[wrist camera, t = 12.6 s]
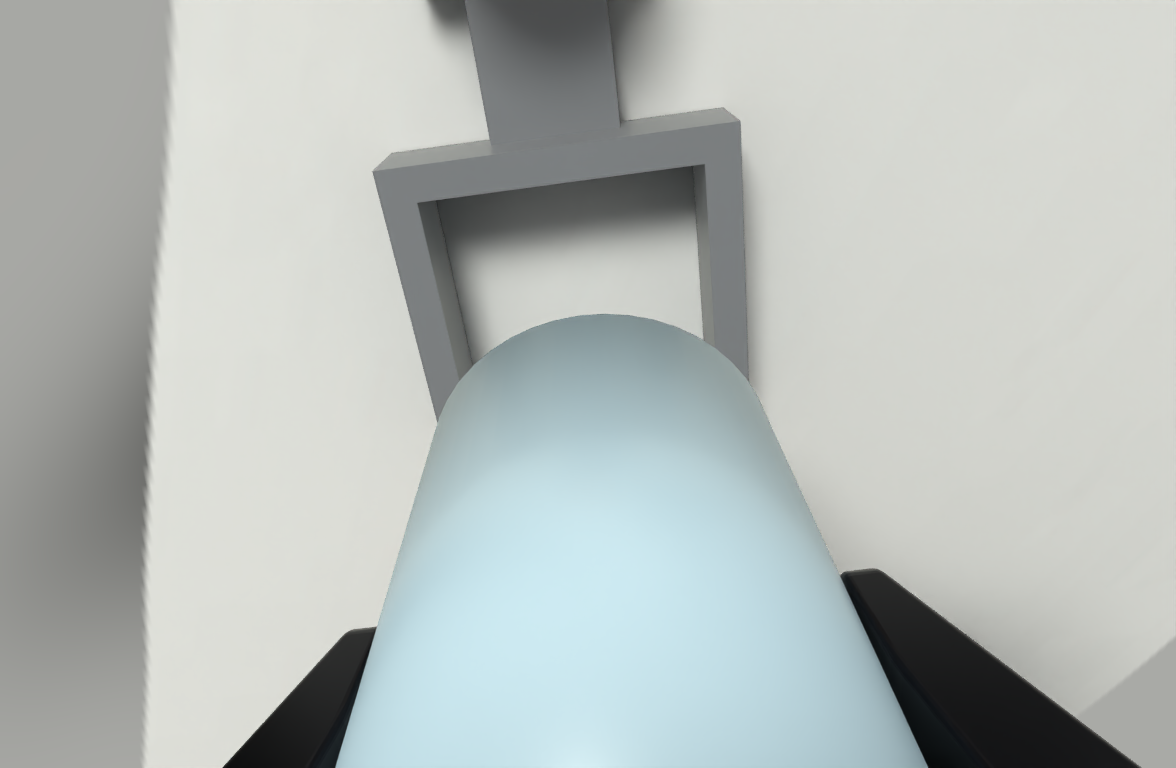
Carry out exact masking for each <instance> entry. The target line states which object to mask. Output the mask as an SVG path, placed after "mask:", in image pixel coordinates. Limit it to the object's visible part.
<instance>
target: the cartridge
mask: <svg viewBox="0 0 1176 768" xmlns="http://www.w3.org/2000/svg"><path fill="white" fill-rule="evenodd" d="M335 768H928V766H927V764H926V762H925V760H924V757H923V755H922V753H921V751H920V749H919V747H918V744H917V742H916V740H915V738H914V736H913V734H912V731H911V729H910V727H909V725H908V723H907V720H906V718H905V716H904V714H903V712H902V710H901V707H900V705H899V703H898V701H897V699H896V697H895V694H894V692H893V690H892V688H891V686H890V683H889V681H888V679H887V677H886V675H885V673H884V670H883V668H882V666H881V664H880V662H879V660H878V657H877V655H876V653H875V651H874V649H873V647H872V644H871V642H870V640H869V638H868V636H867V633H866V631H865V629H864V627H863V625H862V623H861V620H860V618H859V616H858V614H857V612H856V610H855V607H854V605H853V603H852V601H851V599H850V596H849V594H848V592H847V590H846V588H845V586H844V583H843V581H842V579H841V577H840V575H839V573H838V570H837V568H836V566H835V564H834V562H833V560H832V557H831V555H830V553H829V551H828V549H827V546H826V544H825V542H824V540H823V538H822V536H821V533H820V531H819V529H818V527H817V525H816V523H815V520H814V518H813V516H812V514H811V512H810V509H809V507H808V505H807V503H806V501H805V499H804V496H803V494H802V492H801V490H800V488H799V486H798V483H797V481H796V479H795V477H794V475H793V473H792V470H791V468H790V466H789V464H788V462H787V459H786V457H785V455H784V453H783V451H782V449H781V446H780V444H779V442H778V440H777V438H776V436H775V433H774V431H773V429H772V427H771V425H770V422H769V420H768V418H767V416H766V414H765V412H764V409H763V407H762V405H761V403H760V401H759V399H758V396H757V394H756V393H755V391H754V390H753V388H752V387H751V385H750V384H749V382H748V380H747V379H746V377H745V376H744V375H743V374H742V373H741V372H740V371H739V370H738V368H737V367H736V366H735V365H734V364H733V363H732V362H731V361H730V360H729V359H728V358H726V357H725V356H724V355H723V354H722V353H721V352H719V351H718V350H717V349H716V348H714V347H713V346H711V345H710V344H708V343H706V342H705V341H703V340H702V339H700V338H699V337H697V336H695V335H693V334H691V333H688V332H686V331H684V330H682V329H680V328H677V327H675V326H672V325H669V324H666V323H662V322H659V321H656V320H653V319H647V318H641V317H636V316H630V315H615V314H596V315H582V316H575V317H570V318H565V319H560V320H555V321H552V322H548V323H545V324H542V325H539V326H536V327H533V328H531V329H528V330H526V331H524V332H522V333H520V334H518V335H516V336H514V337H511V338H510V339H508V340H506V341H505V342H503V343H502V344H500V345H499V346H497V347H496V348H494V349H492V350H491V351H490V352H488V353H487V354H486V355H485V356H484V357H483V358H481V359H480V360H479V361H478V362H477V363H476V364H474V365H473V366H472V368H471V369H470V370H469V371H468V372H467V373H466V374H465V375H464V376H463V378H462V379H461V380H460V381H459V382H458V384H457V385H456V387H455V388H454V390H453V392H452V393H451V395H450V396H449V398H448V399H447V401H446V404H445V406H444V408H443V410H442V412H441V414H440V417H439V420H438V423H437V427H436V430H435V433H434V437H433V440H432V443H431V447H430V450H429V454H428V457H427V460H426V464H425V467H424V470H423V474H422V477H421V481H420V484H419V487H418V491H417V494H416V497H415V501H414V504H413V507H412V511H411V514H410V518H409V521H408V524H407V528H406V531H405V534H404V538H403V541H402V545H401V548H400V551H399V555H398V558H397V561H396V565H395V568H394V571H393V575H392V578H391V582H390V585H389V588H388V592H387V595H386V598H385V602H384V605H383V609H382V612H381V615H380V619H379V622H378V625H377V629H376V632H375V635H374V639H373V642H372V646H371V649H370V652H369V656H368V659H367V662H366V666H365V669H364V673H363V676H362V679H361V683H360V686H359V689H358V693H357V696H356V699H355V703H354V706H353V710H352V713H351V716H350V720H349V723H348V726H347V730H346V733H345V737H344V740H343V743H342V747H341V750H340V753H339V757H338V760H337V763H336V767H335Z"/></svg>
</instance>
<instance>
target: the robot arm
mask: <svg viewBox="0 0 1176 768" xmlns="http://www.w3.org/2000/svg"><path fill="white" fill-rule="evenodd" d="M840 577H841V579H842V581H843V583H844V586H845V588H846V590H847V592H848V594H849V596H850V599H851V601H852V603H853V605H854V607H855V610H856V612H857V614H858V616H859V618H860V620H861V623H862V625H863V627H864V629H865V631H866V633H867V636H868V638H869V640H870V642H871V644H872V647H873V649H874V651H875V653H876V655H877V657H878V660H879V662H880V664H881V666H882V668H883V670H884V673H885V675H886V677H887V679H888V681H889V683H890V686H891V688H892V690H893V692H894V694H895V697H896V699H897V701H898V703H899V705H900V707H901V710H902V712H903V714H904V716H905V718H906V720H907V723H908V725H909V727H910V729H911V731H912V734H913V736H914V738H915V740H916V742H917V744H918V747H919V749H920V751H921V753H922V755H923V757H924V760H925V762H926V764H927V766H928V768H1141V767H1140V766H1138V765H1137V764H1136V763H1134V762H1133V761H1132V760H1131V759H1129V758H1128V757H1127V756H1125V755H1124V754H1123V753H1121V752H1120V751H1119V750H1117V749H1116V748H1115V747H1113V746H1112V745H1111V744H1109V743H1108V742H1107V741H1106V740H1104V739H1103V738H1102V737H1100V736H1099V735H1098V734H1096V733H1095V732H1093V731H1092V730H1091V729H1090V728H1088V727H1087V726H1086V725H1084V724H1083V723H1082V722H1080V721H1079V720H1078V719H1076V718H1075V717H1074V716H1073V715H1071V714H1070V713H1069V712H1067V711H1066V710H1065V709H1063V708H1062V707H1061V706H1059V705H1058V704H1057V703H1055V702H1054V701H1053V700H1051V699H1050V698H1049V697H1047V696H1046V695H1045V694H1044V693H1042V692H1041V691H1040V690H1038V689H1037V688H1036V687H1034V686H1033V685H1032V684H1030V683H1029V682H1028V681H1026V680H1025V679H1024V678H1022V677H1021V676H1020V675H1018V674H1017V673H1016V672H1015V671H1013V670H1012V669H1011V668H1009V667H1008V666H1007V665H1005V664H1004V663H1003V662H1001V661H1000V660H999V659H997V658H996V657H995V656H993V655H992V654H991V653H989V652H988V651H987V650H986V649H984V648H983V647H982V646H980V645H979V644H978V643H976V642H975V641H974V640H972V639H971V638H970V637H968V636H967V635H966V634H964V633H963V632H962V631H960V630H959V629H958V628H957V627H955V626H954V625H953V624H951V623H950V622H949V621H947V620H946V619H945V618H943V617H942V616H941V615H939V614H938V613H937V612H935V611H934V610H933V609H931V608H930V607H929V606H928V605H926V604H925V603H924V602H922V601H921V600H920V599H918V598H917V597H916V596H914V595H913V594H912V593H910V592H909V591H908V590H906V589H905V588H904V587H902V586H901V585H900V584H899V583H897V582H896V581H895V580H893V579H892V578H891V577H889V576H888V575H887V574H885V573H884V572H882V571H880V570H878V569H873V568H872V569H863V570H854V571H846V572H844V573H842V574H841V575H840ZM376 629H377V627H370V628H362V629H353V630H350V631H348V632H347V633H345V634H344V635H343V636H342V637H341V638H340V639H339V640H338V642H337V643H336V644H335V645H334V646H333V647H332V648H331V649H330V650H329V651H328V653H327V654H326V655H325V656H324V657H323V658H322V659H321V660H320V661H319V662H318V663H317V665H316V666H315V667H314V668H313V669H312V670H311V671H310V672H309V673H308V674H307V676H306V677H305V678H304V679H303V680H302V681H301V682H300V683H299V684H298V685H297V687H296V688H295V689H294V690H293V691H292V692H291V693H290V694H289V695H288V696H287V697H286V699H285V700H284V701H283V702H282V703H281V704H280V705H279V706H278V707H277V708H276V710H275V711H274V712H273V713H272V714H271V715H270V716H269V717H268V718H267V719H266V721H265V722H264V723H263V724H262V725H261V726H260V727H259V728H258V729H257V730H256V731H255V733H254V734H253V735H252V736H251V737H250V738H249V739H248V740H247V741H246V742H245V744H244V745H243V746H242V747H241V748H240V749H239V750H238V751H237V752H236V753H235V755H234V756H233V757H232V758H231V759H230V760H229V761H228V762H227V763H226V764H225V765H224V767H223V768H335V767H336V763H337V760H338V757H339V753H340V750H341V747H342V743H343V740H344V737H345V733H346V730H347V726H348V723H349V720H350V716H351V713H352V710H353V706H354V703H355V699H356V696H357V693H358V689H359V686H360V683H361V679H362V676H363V673H364V669H365V666H366V662H367V659H368V656H369V652H370V649H371V646H372V642H373V639H374V635H375V632H376Z"/></svg>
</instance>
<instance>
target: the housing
mask: <svg viewBox="0 0 1176 768" xmlns="http://www.w3.org/2000/svg"><path fill="white" fill-rule="evenodd" d="M464 1H465V7H466V12H467V18H468V23H469V29H470V34H471V39H472V45H473V50H474V56H475V61H476V67H477V72H478V78H479V83H480V89H481V94H482V99H483V105H484V110H485V116H486V121H487V127H488V132H489V138H490V140H483V141H476V142H469V143H462V144H454V145H447V146H440V147H433V148H425V149H418V150H411V151H404V152H396V153H391V154H390V155H389V156H388V157H387V158H386V159H385V160H384V161H383V162H382V163H381V164H380V165H378V166H377V167H376V168H375V169H374V170H373V171H372V172H373V176H374V180H375V183H376V187H377V191H378V195H379V199H380V203H381V207H382V210H383V214H384V218H385V222H386V226H387V230H388V234H389V237H390V241H391V245H392V249H393V253H394V257H395V261H396V264H397V268H398V272H399V276H400V280H401V284H402V288H403V291H404V295H405V299H406V303H407V307H408V311H409V315H410V318H411V322H412V326H413V330H414V334H415V338H416V342H417V345H418V349H419V353H420V357H421V361H422V365H423V369H424V372H425V376H426V380H427V384H428V388H429V392H430V396H431V400H432V403H433V407H434V411H435V415H436V419H437V423H438V420H439V417H440V414H441V412H442V410H443V408H444V406H445V404H446V401H447V399H448V398H449V396H450V395H451V393H452V392H453V390H454V388H455V387H456V385H457V384H458V382H459V381H460V380H461V379H462V378H463V376H464V375H465V374H466V373H467V372H468V371H469V370H470V369H471V368H472V366H473V364H472V360H471V355H470V351H469V346H468V342H467V338H466V333H465V329H464V324H463V320H462V315H461V311H460V306H459V302H458V297H457V293H456V288H455V284H454V280H453V275H452V271H451V266H450V262H449V257H448V253H447V248H446V244H445V239H444V235H443V230H442V226H441V222H440V217H439V213H438V208H437V204H436V200H441V199H449V198H456V197H464V196H471V195H478V194H486V193H493V192H501V191H508V190H516V189H523V188H530V187H538V186H545V185H553V184H560V183H567V182H575V181H582V180H590V179H597V178H604V177H612V176H619V175H627V174H634V173H642V172H649V171H656V170H664V169H671V168H679V167H686V166H693V175H694V191H695V207H696V224H697V240H698V256H699V272H700V289H701V305H702V321H703V337H704V341H705V342H706V343H708V344H710V345H711V346H713V347H714V348H716V349H717V350H718V351H719V352H721V353H722V354H723V355H724V356H725V357H726V358H728V359H729V360H730V361H731V362H732V363H733V364H734V365H735V366H736V367H737V368H738V370H739V371H740V372H741V373H742V374H743V375H744V376H745V377H746V379H747V380H748V382H749V378H748V346H747V315H746V283H745V251H744V219H743V188H742V156H741V124H740V120H739V119H737V118H736V117H735V116H734V115H732V114H731V113H730V112H728V111H727V110H726V109H725V108H716V109H709V110H701V111H694V112H687V113H679V114H672V115H665V116H658V117H650V118H643V119H636V120H629V121H621V122H620V119H619V109H618V99H617V90H616V80H615V70H614V61H613V51H612V41H611V32H610V22H609V12H608V3H607V0H464Z"/></svg>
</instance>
